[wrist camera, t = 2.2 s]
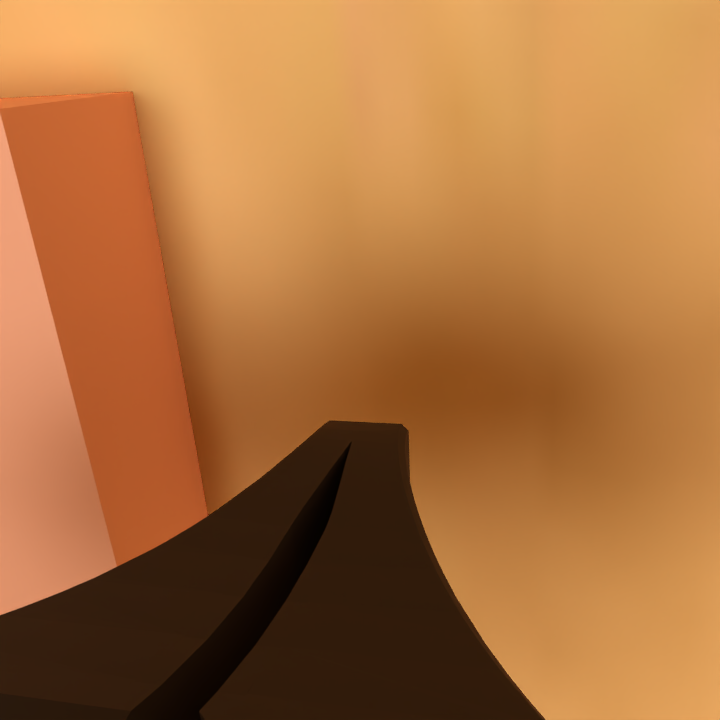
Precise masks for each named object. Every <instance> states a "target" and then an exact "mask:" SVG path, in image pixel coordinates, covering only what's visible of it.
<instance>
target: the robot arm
mask: <svg viewBox="0 0 720 720" xmlns="http://www.w3.org/2000/svg"><path fill="white" fill-rule="evenodd" d="M0 720H545V719H544V717H543V716H542V715H541V714H540V713H539V712H538V710H537V709H536V708H535V707H534V706H533V705H532V704H531V702H530V701H529V700H528V699H527V698H526V696H525V695H524V694H523V693H522V691H521V690H520V689H519V688H518V686H517V685H516V684H515V683H514V682H513V680H512V679H511V678H510V677H509V675H508V674H507V673H506V671H505V670H504V669H503V667H502V666H501V664H500V663H499V662H498V660H497V659H496V658H495V656H494V655H493V654H492V652H491V651H490V649H489V648H488V647H487V645H486V644H485V642H484V641H483V639H482V638H481V636H480V635H479V633H478V631H477V630H476V628H475V627H474V625H473V623H472V622H471V620H470V619H469V617H468V616H467V614H466V612H465V611H464V609H463V608H462V606H461V604H460V603H459V601H458V600H457V598H456V596H455V594H454V592H453V591H452V589H451V587H450V585H449V583H448V581H447V579H446V577H445V576H444V574H443V572H442V569H441V567H440V565H439V563H438V561H437V559H436V557H435V555H434V552H433V550H432V548H431V545H430V543H429V541H428V538H427V536H426V533H425V530H424V528H423V525H422V522H421V519H420V516H419V514H418V510H417V507H416V504H415V501H414V497H413V493H412V489H411V485H410V470H409V432H408V430H407V429H406V428H405V427H404V426H403V425H402V424H390V423H368V422H347V421H328V422H327V423H326V424H324V425H323V426H322V427H321V428H320V429H318V430H317V431H316V432H315V433H314V434H313V435H311V436H310V437H309V438H308V439H307V440H306V441H304V442H303V443H302V444H301V445H300V446H299V447H297V448H296V449H295V450H294V451H293V452H292V453H290V454H289V455H288V456H287V457H286V458H284V459H283V460H282V461H281V462H280V463H278V464H277V465H276V466H275V467H273V468H272V469H271V470H270V471H269V472H267V473H266V474H265V475H264V476H262V477H261V478H260V479H259V480H257V481H256V482H254V483H253V484H252V485H250V486H249V487H248V488H246V489H245V490H244V491H242V492H241V493H239V494H238V495H237V496H235V497H234V498H233V499H231V500H230V501H229V502H227V503H226V504H224V505H223V506H222V507H220V508H219V509H218V510H216V511H215V512H213V513H212V514H210V515H209V516H207V517H206V518H204V519H202V520H201V521H199V522H198V523H196V524H195V525H193V526H191V527H190V528H188V529H186V530H185V531H183V532H181V533H180V534H178V535H176V536H175V537H173V538H171V539H169V540H168V541H166V542H164V543H162V544H161V545H159V546H157V547H155V548H153V549H151V550H149V551H147V552H145V553H143V554H141V555H139V556H137V557H135V558H133V559H131V560H129V561H127V562H125V563H123V564H121V565H119V566H117V567H115V568H113V569H111V570H109V571H107V572H105V573H103V574H101V575H99V576H97V577H95V578H93V579H90V580H88V581H86V582H83V583H81V584H79V585H76V586H74V587H72V588H69V589H67V590H65V591H62V592H60V593H57V594H55V595H52V596H50V597H47V598H45V599H42V600H40V601H37V602H34V603H32V604H29V605H27V606H24V607H21V608H19V609H16V610H13V611H10V612H8V613H5V614H2V615H0Z"/></svg>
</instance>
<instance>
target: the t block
mask: <svg viewBox="0 0 720 720" xmlns="http://www.w3.org/2000/svg"><path fill="white" fill-rule="evenodd" d="M207 516H208V513H207V507H206V501H205V496H204V490H203V485H202V479H201V473H200V468H199V462H198V457H197V451H196V445H195V440H194V434H193V429H192V423H191V417H190V412H189V406H188V401H187V395H186V389H185V384H184V378H183V373H182V367H181V361H180V356H179V350H178V345H177V339H176V334H175V328H174V322H173V317H172V311H171V306H170V300H169V294H168V289H167V283H166V278H165V272H164V266H163V261H162V255H161V250H160V244H159V238H158V233H157V227H156V222H155V216H154V210H153V205H152V199H151V194H150V188H149V182H148V177H147V171H146V166H145V160H144V154H143V149H142V143H141V138H140V132H139V126H138V121H137V115H136V110H135V104H134V98H133V93H132V92H117V93H97V94H77V95H56V96H36V97H16V98H0V615H2V614H5V613H8V612H10V611H13V610H16V609H19V608H21V607H24V606H27V605H29V604H32V603H34V602H37V601H40V600H42V599H45V598H47V597H50V596H52V595H55V594H57V593H60V592H62V591H65V590H67V589H69V588H72V587H74V586H76V585H79V584H81V583H83V582H86V581H88V580H90V579H93V578H95V577H97V576H99V575H101V574H103V573H105V572H107V571H109V570H111V569H113V568H115V567H117V566H119V565H121V564H123V563H125V562H127V561H129V560H131V559H133V558H135V557H137V556H139V555H141V554H143V553H145V552H147V551H149V550H151V549H153V548H155V547H157V546H159V545H161V544H162V543H164V542H166V541H168V540H169V539H171V538H173V537H175V536H176V535H178V534H180V533H181V532H183V531H185V530H186V529H188V528H190V527H191V526H193V525H195V524H196V523H198V522H199V521H201V520H202V519H204V518H206V517H207Z"/></svg>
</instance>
